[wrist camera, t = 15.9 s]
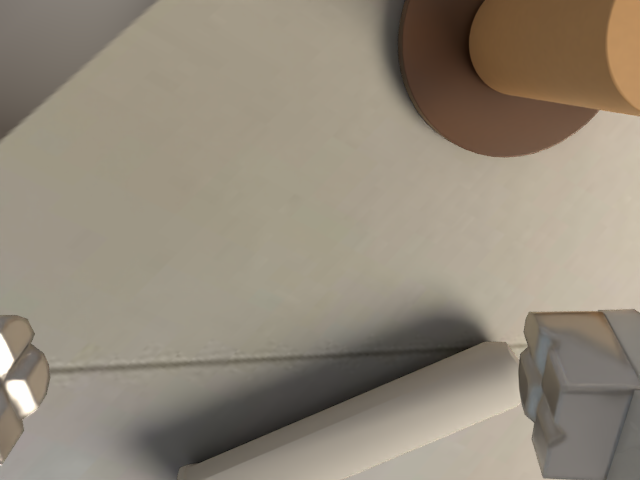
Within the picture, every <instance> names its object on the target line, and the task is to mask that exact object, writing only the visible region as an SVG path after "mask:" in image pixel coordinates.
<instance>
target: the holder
mask: <svg viewBox="0 0 640 480" xmlns="http://www.w3.org/2000/svg"><path fill="white" fill-rule="evenodd" d="M484 1H485V0H405V3H404V6H403V10H402V15H401V19H400V25H399V34H398V56H399V63H400V70H401V74H402V78H403V81H404V85H405V88H406V90H407V92H408V95H409V97H410V99H411V101H412V103H413V104H414V106H415V108H416V110H417V111H418V113H419V114H420V115H421V116H422V118H423V119H424V120H425V122H426V123H427V124H428V125H429V126H430V127H431V128H432V129H434V130H435V131H436V132H437V133H438V134H439V135H441V136H442V137H444V138H445V139H446V140H448V141H450V142H452V143H454V144H456V145H458V146H459V147H461V148H464V149H466V150H469V151H472V152H474V153H477V154H482V155H487V156H492V157H517V156H524V155H529V154H533V153H537V152H539V151H542V150H545V149H548V148H550V147H552V146H554V145H556V144H558V143H560V142H562V141H564V140H565V139H567V138H568V137H570V136H572V135H573V134H575V133H576V132H577V131H578V130H580V129H581V128H582V127H583V126H584V125H586V124H587V123H588V122H589V121H590V120H591V119H592V118H593V117H594V116H595V115H596V114H597V113H598V111H599V110H598V109H592V108H586V107H579V106H573V105H567V104H561V103H555V102H549V101H543V100H536V99H530V98H524V97H518V96H512V95H507V94H503V93H500V92H498V91H495V90H494V89H492V88H490V87H489V86H488V85H487V84H485V83H484V81H483V80H482V79H481V78H480V77H479V75H478V74H477V72H476V70H475V68H474V66H473V63H472V61H471V57H470V51H469V36H470V30H471V26H472V23H473V20H474V18H475V15H476V13H477V11H478V10H479V8H480V6H481V5H482V4H483V2H484Z"/></svg>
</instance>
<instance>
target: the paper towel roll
mask: <svg viewBox="0 0 640 480" xmlns="http://www.w3.org/2000/svg"><path fill="white" fill-rule="evenodd" d="M469 51H470V57H471V61H472V63H473V66H474V68H475V70H476V72H477V74H478V75H479V77H480V78H481V79H482V80H483V81H484V83H485V84H487V85H488V86H489V87H490V88H492V89H494V90H495V91H498V92H500V93H503V94H507V95H512V96H518V97H524V98H530V99H536V100H543V101H549V102H555V103H561V104H567V105H573V106H579V107H586V108H592V109H598V110H604V111H610V112H616V113H622V114H628V115H635V116H640V0H485V1H484V2H483V4H482V5H481V6H480V8H479V10H478V11H477V13H476V15H475V18H474V20H473V23H472V26H471V30H470V36H469Z"/></svg>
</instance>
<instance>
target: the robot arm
mask: <svg viewBox="0 0 640 480" xmlns="http://www.w3.org/2000/svg"><path fill="white" fill-rule="evenodd" d="M34 335H35V333H34V331H33V329H32V327H31V325H30V323H29V321H28V319H26V318H23V317H21V316H18V315H0V465H2V464H3V462H4V461H5V459H6V458H7V456H8V455H9V453H10V452H11V450H12V448H13V447H14V445H15V444H16V442H17V441H18V439H19V438H20V436H21V435H22V433H23V431H24V427H23V421H22V419H24V418H25V417H27V416H28V415H30V414H31V413H32V412H34V411H35V410H37V409H38V408H39V406H40V405H41V403H42V401H43V400H44V398H45V396H46V395H47V390H48V386H49V381H50V371H49V364H48V362H47V359H46V357H45V355H44V353H43V352H41V351H40V350H39V349H37V348H36V347H35V346H33V345H32V344H31V342H32V340H33V337H34ZM524 335H525V338H526V341H527V344H528V347H527V348H526V349H525V350H524V351H523V352H522V353H521V354H520V360H519V369H518V377H519V392H520V398H521V402H522V406H523V410H524V414H525V415H526V416H527V417H528V418H529V419H531V420H532V421H533V422H534V428H533V434H532V442H533V445H534V449H535V452H536V456H537V459H538V462H539V466H540V469H541V473H542V476H543V478H550V479H570V480H640V313H639V312H638V311H636V310H635V309H622V310H598V311H559V312H529V313H528V315H527V317H526V320H525V326H524Z"/></svg>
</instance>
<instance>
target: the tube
mask: <svg viewBox="0 0 640 480" xmlns="http://www.w3.org/2000/svg"><path fill="white" fill-rule="evenodd" d="M518 369H519V359H518V357H517V356H516V355H515V353H514V352H513V351H512V349H511V348H510V347H509V346H508V344H507V343H506V342H483V343H481V344H478V345H476V346H474V347H471V348H469V349H466V350H464V351H462V352H459V353H457V354H455V355H452V356H450V357H448V358H445V359H443V360H441V361H438V362H436V363H434V364H431V365H429V366H427V367H424V368H422V369H419V370H417V371H415V372H412V373H410V374H408V375H405V376H403V377H401V378H398V379H396V380H394V381H391V382H389V383H387V384H384V385H382V386H379V387H377V388H375V389H372V390H370V391H368V392H365V393H363V394H361V395H358V396H356V397H354V398H351V399H349V400H347V401H344V402H342V403H340V404H337V405H335V406H332V407H330V408H328V409H325V410H323V411H321V412H318V413H316V414H314V415H311V416H309V417H307V418H304V419H302V420H300V421H297V422H295V423H293V424H290V425H288V426H285V427H283V428H281V429H278V430H276V431H274V432H271V433H269V434H267V435H264V436H262V437H260V438H257V439H255V440H253V441H250V442H248V443H246V444H243V445H241V446H238V447H236V448H234V449H231V450H229V451H227V452H224V453H222V454H220V455H217V456H215V457H213V458H210V459H208V460H206V461H203V462H201V463H198V464H197V463H193V464H189V465H185V466H183V467H180V468H179V472H178V476H177V480H343V479H346V478H348V477H350V476H353V475H355V474H357V473H360V472H362V471H365V470H367V469H369V468H372V467H374V466H376V465H379V464H381V463H384V462H386V461H388V460H391V459H393V458H396V457H398V456H400V455H403V454H405V453H407V452H410V451H412V450H415V449H417V448H419V447H422V446H424V445H426V444H429V443H431V442H434V441H436V440H438V439H441V438H443V437H446V436H448V435H450V434H453V433H455V432H457V431H460V430H462V429H465V428H467V427H469V426H472V425H474V424H476V423H479V422H481V421H484V420H486V419H488V418H491V417H493V416H496V415H498V414H500V413H503V412H505V411H507V410H510V409H512V408H515V407H517V406H518V405H519V403H520V402H521V398H520V392H519V377H518Z"/></svg>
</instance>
